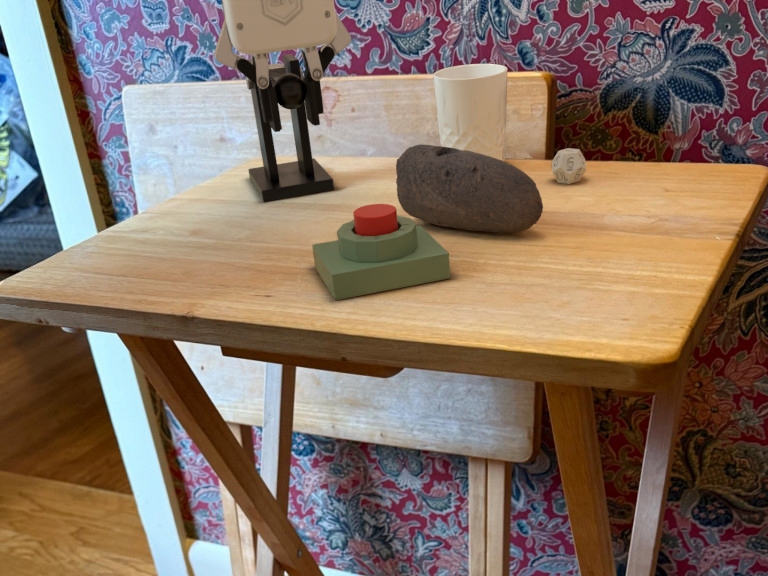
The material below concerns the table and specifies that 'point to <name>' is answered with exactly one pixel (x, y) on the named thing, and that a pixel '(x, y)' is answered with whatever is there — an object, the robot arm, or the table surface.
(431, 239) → the button block
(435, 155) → the perforated stone tool
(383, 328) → the table surface
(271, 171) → the bracket
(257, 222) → the table surface
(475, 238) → the table surface
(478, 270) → the table surface
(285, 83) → the lever
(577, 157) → the game die
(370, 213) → the button
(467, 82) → the white cup
